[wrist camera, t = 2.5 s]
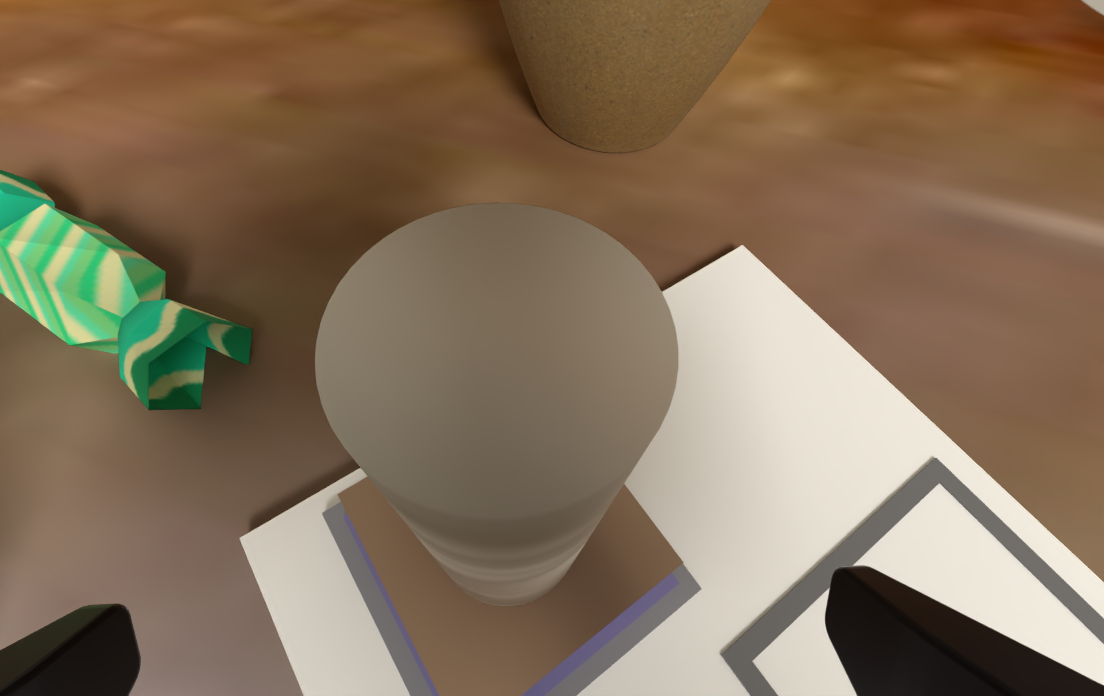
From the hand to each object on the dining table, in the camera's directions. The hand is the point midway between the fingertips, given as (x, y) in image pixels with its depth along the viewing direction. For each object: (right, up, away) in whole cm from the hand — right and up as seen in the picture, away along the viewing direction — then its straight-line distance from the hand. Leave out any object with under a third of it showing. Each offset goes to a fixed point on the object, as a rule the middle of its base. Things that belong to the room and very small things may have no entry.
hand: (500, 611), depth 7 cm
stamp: (-1, -2, +9) cm, 9 cm away
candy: (-16, +5, +13) cm, 21 cm away
